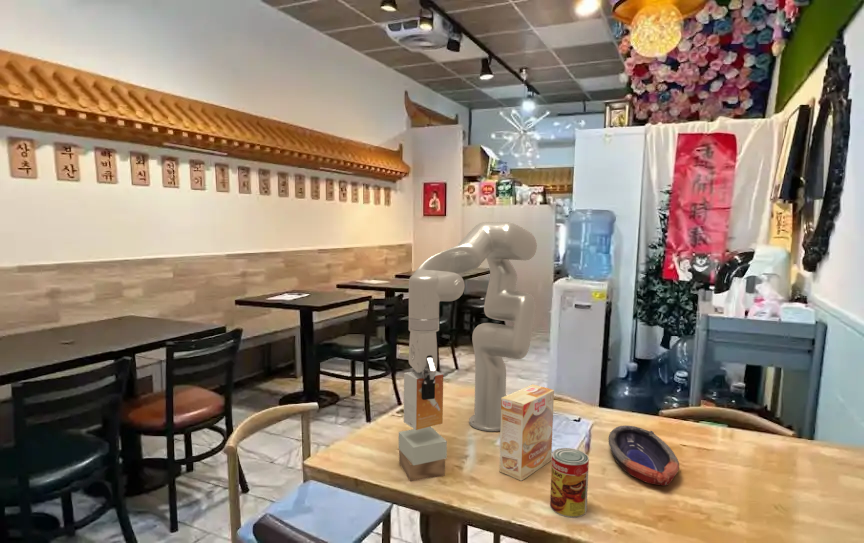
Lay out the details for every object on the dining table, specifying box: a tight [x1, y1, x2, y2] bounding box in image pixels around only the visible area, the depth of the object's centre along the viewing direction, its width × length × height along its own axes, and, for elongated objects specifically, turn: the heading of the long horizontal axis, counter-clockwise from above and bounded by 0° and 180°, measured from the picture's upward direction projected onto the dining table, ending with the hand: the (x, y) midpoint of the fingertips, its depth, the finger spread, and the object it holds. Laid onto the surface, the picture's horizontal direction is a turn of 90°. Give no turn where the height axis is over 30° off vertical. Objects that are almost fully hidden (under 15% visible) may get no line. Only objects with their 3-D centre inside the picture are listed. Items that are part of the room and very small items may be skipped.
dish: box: [608, 425, 680, 486], centre depth 137 cm, size 16×31×5 cm, turn 172°
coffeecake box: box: [498, 383, 555, 481], centre depth 134 cm, size 15×7×20 cm, turn 137°
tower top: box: [398, 426, 448, 465], centre depth 132 cm, size 9×10×4 cm
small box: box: [403, 369, 444, 430], centre depth 131 cm, size 8×6×13 cm
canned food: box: [549, 447, 590, 518], centre depth 115 cm, size 8×8×12 cm
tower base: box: [398, 448, 446, 482], centre depth 133 cm, size 9×10×4 cm
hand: (423, 393), depth 131 cm, fingers closed on small box, 7 cm apart
